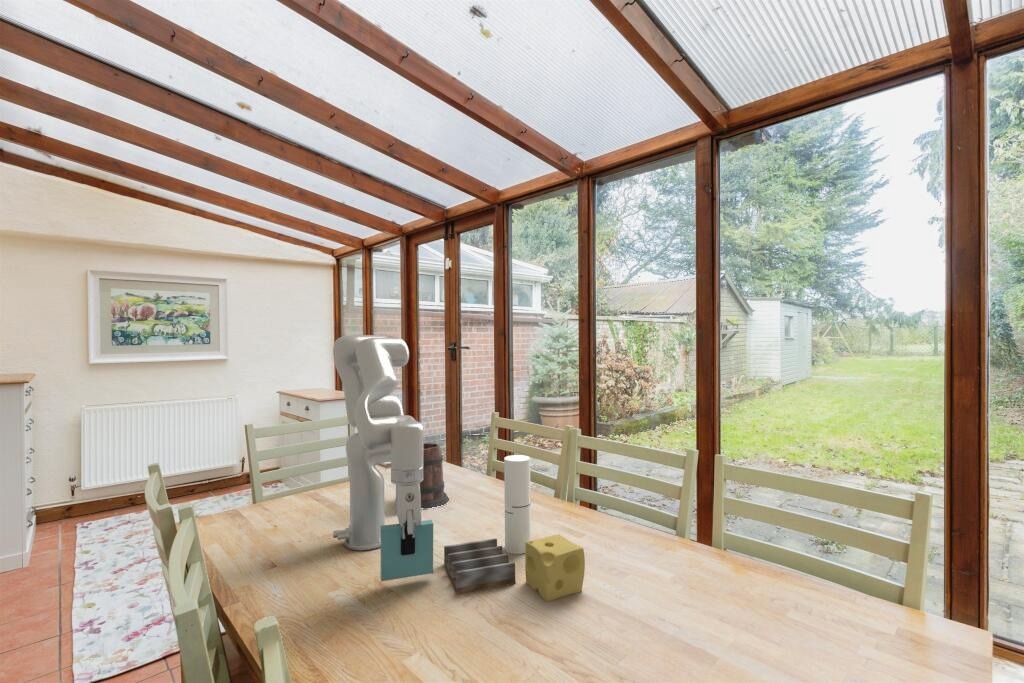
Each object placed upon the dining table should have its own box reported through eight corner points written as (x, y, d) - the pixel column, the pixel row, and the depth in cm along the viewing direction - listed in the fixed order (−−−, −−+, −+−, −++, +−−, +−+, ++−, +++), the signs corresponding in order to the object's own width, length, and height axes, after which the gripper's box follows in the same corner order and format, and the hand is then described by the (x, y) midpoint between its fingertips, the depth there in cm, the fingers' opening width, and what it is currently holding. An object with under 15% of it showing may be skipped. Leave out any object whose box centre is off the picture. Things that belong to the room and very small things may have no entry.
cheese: (546, 603, 106) (546, 557, 106) (523, 581, 116) (522, 539, 116) (585, 591, 111) (585, 548, 111) (559, 571, 120) (559, 531, 120)
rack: (457, 594, 110) (457, 573, 110) (444, 564, 125) (443, 545, 125) (515, 583, 115) (515, 563, 115) (496, 555, 129) (495, 538, 129)
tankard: (422, 491, 185) (422, 438, 185) (459, 497, 177) (458, 443, 177) (378, 510, 164) (378, 451, 164) (418, 519, 156) (417, 457, 156)
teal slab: (381, 581, 112) (381, 529, 111) (380, 576, 114) (380, 525, 114) (433, 573, 116) (433, 523, 115) (431, 568, 118) (431, 519, 118)
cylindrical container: (528, 555, 129) (527, 461, 129) (502, 553, 131) (501, 460, 131) (532, 544, 136) (532, 455, 136) (507, 542, 138) (507, 454, 138)
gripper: (428, 483, 108) (428, 564, 108) (418, 463, 123) (418, 535, 123) (394, 486, 105) (394, 569, 106) (388, 466, 121) (387, 539, 121)
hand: (407, 550), depth 115 cm, fingers closed on teal slab, 2 cm apart
